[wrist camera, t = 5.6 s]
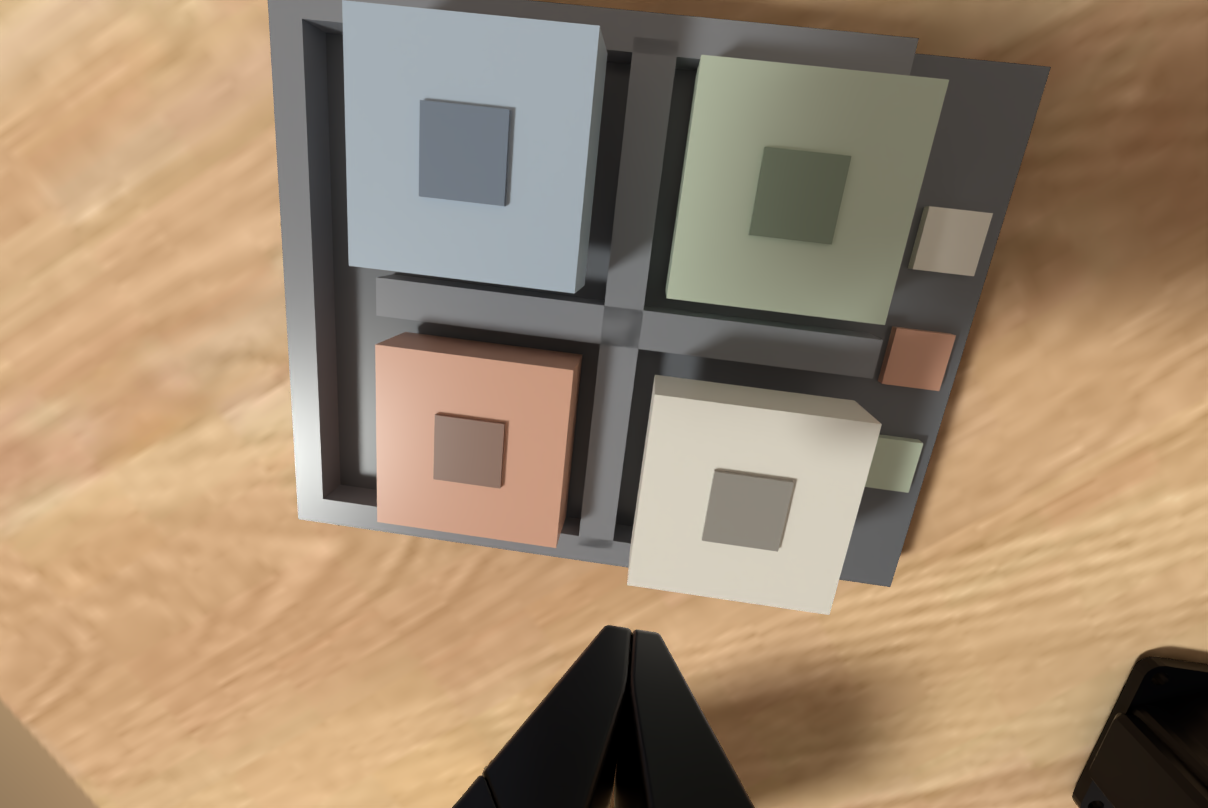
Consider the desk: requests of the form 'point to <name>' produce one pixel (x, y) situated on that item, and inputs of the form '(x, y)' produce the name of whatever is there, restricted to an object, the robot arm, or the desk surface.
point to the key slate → (471, 144)
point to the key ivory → (749, 493)
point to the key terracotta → (475, 437)
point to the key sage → (800, 186)
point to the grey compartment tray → (640, 273)
